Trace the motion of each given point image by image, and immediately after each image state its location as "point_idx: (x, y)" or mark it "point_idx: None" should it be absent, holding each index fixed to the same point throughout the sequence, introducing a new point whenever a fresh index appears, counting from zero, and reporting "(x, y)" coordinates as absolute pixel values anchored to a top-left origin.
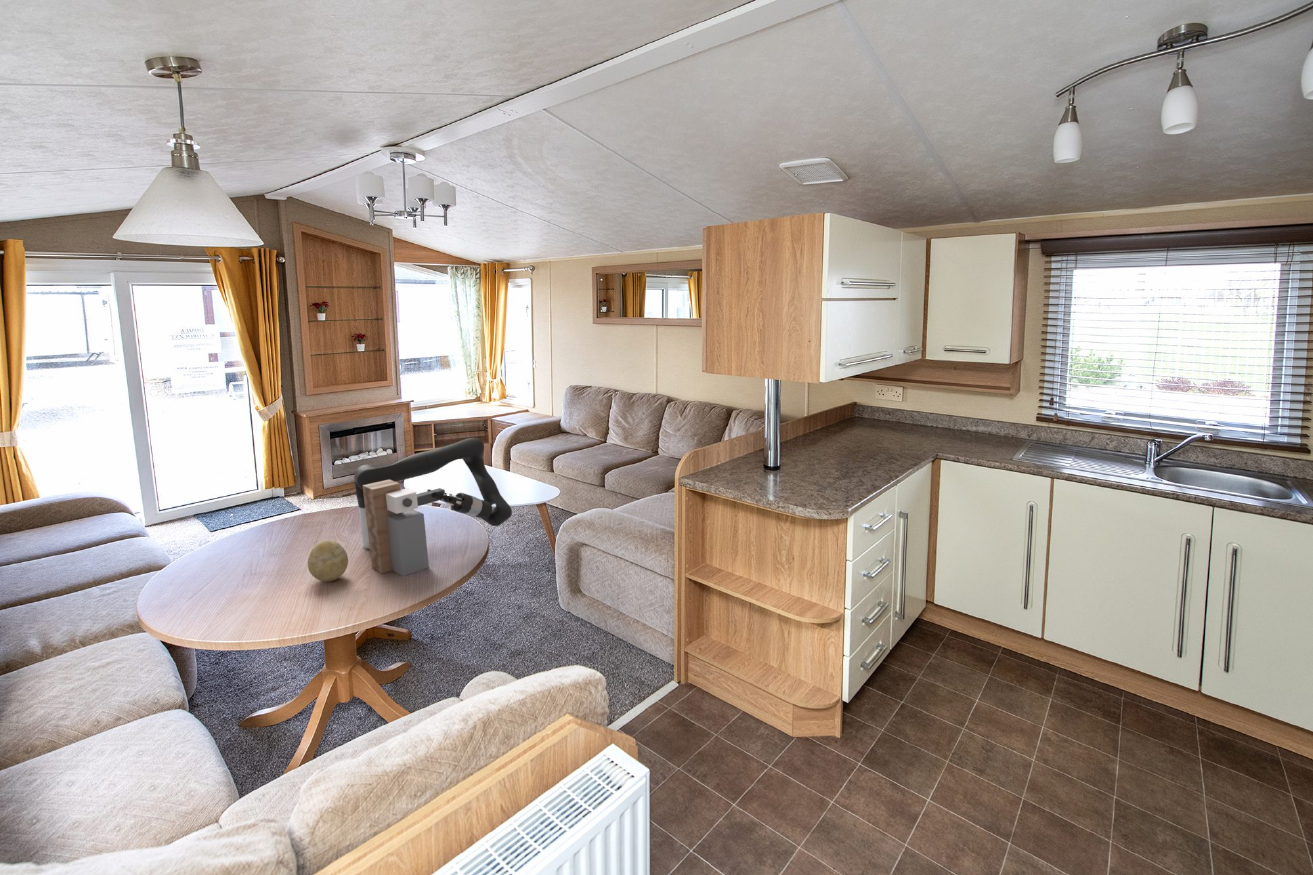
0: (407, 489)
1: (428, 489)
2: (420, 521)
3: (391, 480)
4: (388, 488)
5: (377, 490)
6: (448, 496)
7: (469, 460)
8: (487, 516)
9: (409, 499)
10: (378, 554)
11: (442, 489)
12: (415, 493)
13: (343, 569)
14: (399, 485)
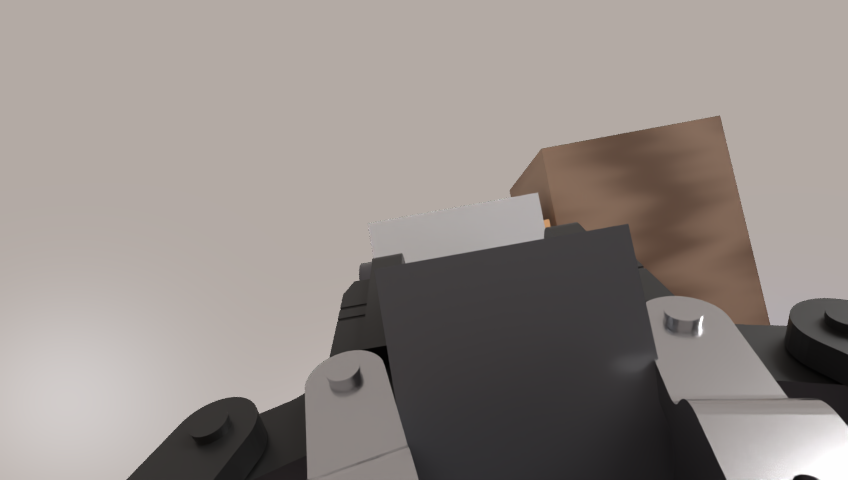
0: (502, 200)
1: (566, 225)
2: None
3: (673, 125)
4: (528, 187)
5: (515, 196)
6: (190, 435)
7: None
8: None
9: (360, 270)
10: None
11: (451, 256)
12: (370, 234)
13: None
14: (543, 166)
